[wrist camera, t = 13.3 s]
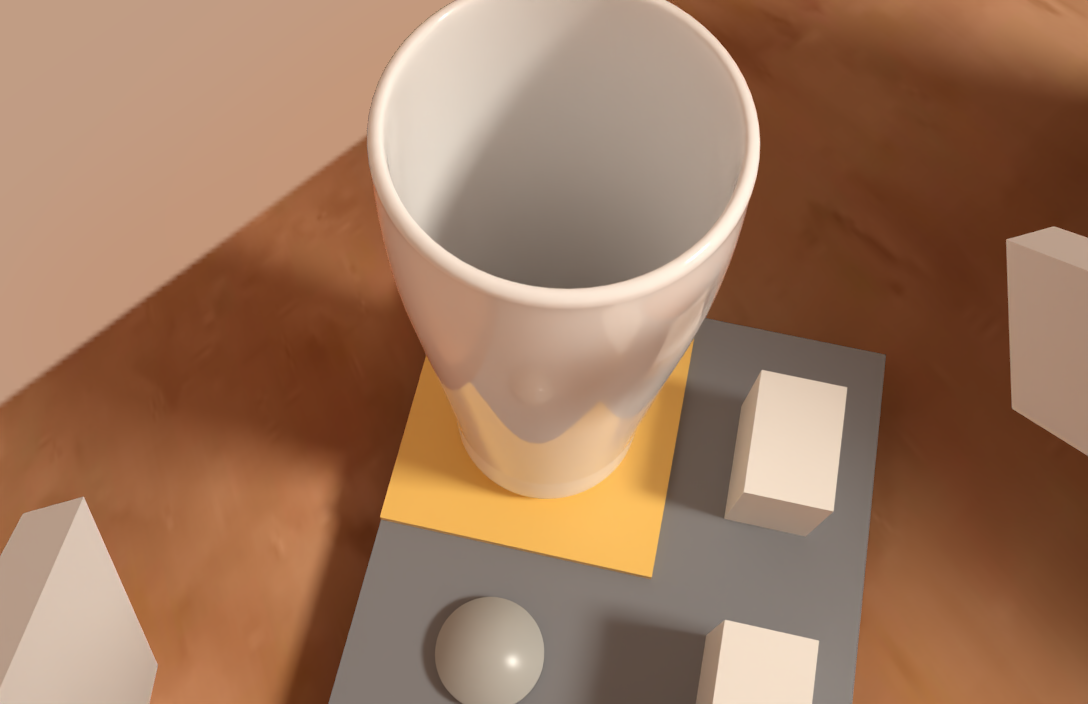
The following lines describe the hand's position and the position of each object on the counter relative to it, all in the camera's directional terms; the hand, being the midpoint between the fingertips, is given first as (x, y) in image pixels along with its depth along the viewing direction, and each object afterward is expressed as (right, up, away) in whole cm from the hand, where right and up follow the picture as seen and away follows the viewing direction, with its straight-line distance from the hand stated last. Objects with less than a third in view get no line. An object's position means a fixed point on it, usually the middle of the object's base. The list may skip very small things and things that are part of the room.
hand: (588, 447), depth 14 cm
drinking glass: (-1, -1, +17) cm, 17 cm away
